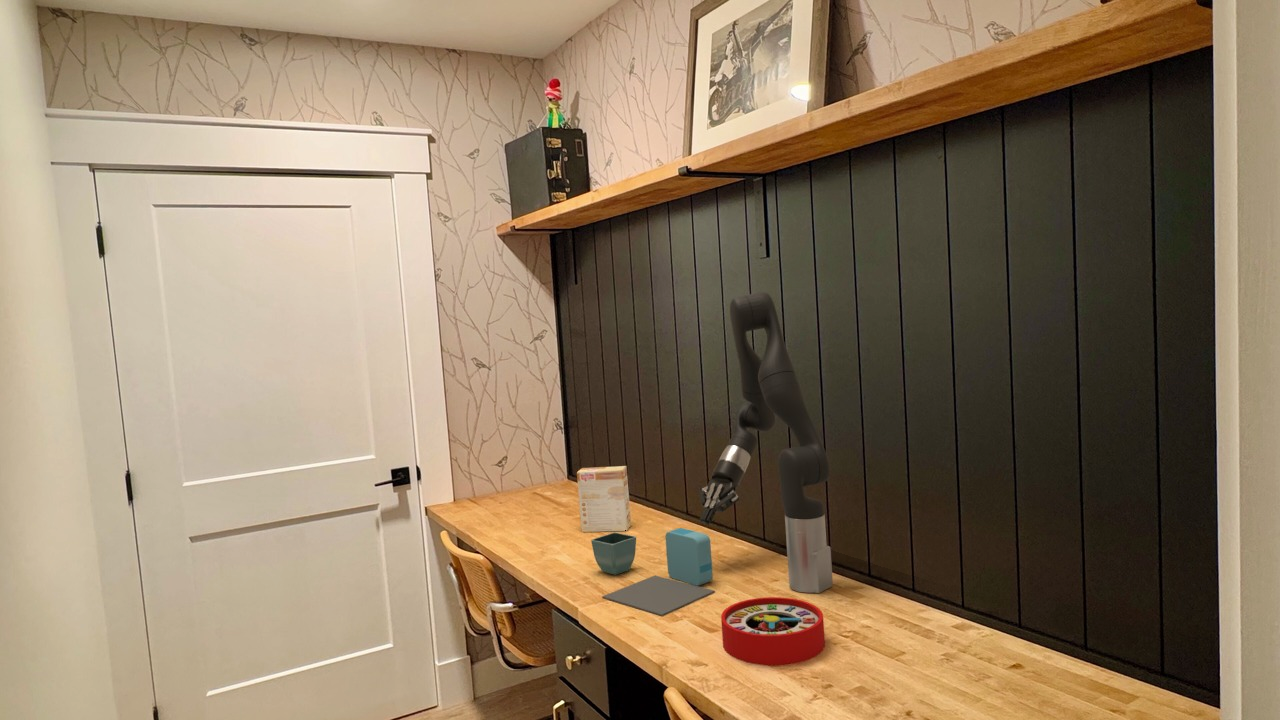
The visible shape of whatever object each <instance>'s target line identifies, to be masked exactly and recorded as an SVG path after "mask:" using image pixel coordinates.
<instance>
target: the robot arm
mask: <svg viewBox="0 0 1280 720" xmlns="http://www.w3.org/2000/svg"><path fill="white" fill-rule="evenodd" d="M729 317H730V322H731V328H732V333H733V338H734V339H733V341H734V345H735V349H736V354H737V355H736V356H737V359H738V364H739V369H740V370H739V371H740V372H739V373H740V384H741V395H742V398H743V399H744V400H745V401H746V402H745V401H744V402H743V403H742V404H741V405H740V406H739V407H738V408H737V410H736V416H735V417H736V418H735V424H734V427H733V432H732V435H731V438H730V439H729V442H728V443H727V444H726V447H725V448H724V450H723V451H722V453H721V455H720V457H719V459H718V461H717V463H716V465H715V467H714V469H713V471H712V473H711V476H712V477H711V480H709V482H708V483H707V485H706V486H705V487H702V486H699V487H698V489H697V490H698V491H697V492H698V498H699V502H700V505H701V506H702V507H703V511H702V513H701V515H700V516H699V517H700V518H699V519H700V520H699V521H700V522H701V523H702V524H703V525H710V524H711V522H712V521H713V519H714V517H715V516H716V514H718V512H720V513H723V512H725V511H726V510H727V509H729V508H730V507H731V506H733V505H735V504H736V503H737V502H738V501H739V500H740V496H738V494H737V493H736V491H737V488H738V487H739V485H740V483H741V481H742V480H743V477H744V475H745V473H746V471H747V469H748V466H749V464H750V461H751V458H752V455H753V454H754V452H755V450H756V447H757V445H758V437H757V436H755V435H754V433H752V432H751V431H749V430H747V429H750V430H751V429H752V430H755V431H759V432H765V433H766V432H770V431H771V430H772V429H773V428H774V427H775V424H776V420H775V415H776V416H777V418H779V419H780V420H781V421H782V422H783V423H784V424H785V425H786V426H787V427H788V428H789V429H790V430H791V431H792V433H793V434H794V437H795V438H796V441H797V443H798V444H799V446H795V447H789V448H784V449H782V450H781V451H780V453H779V456H778V461H777V466H778V467H777V469H778V470H777V471H778V476H779V484H780V485H779V486H780V495H781V501H782V506H783V510H784V521H785V523H784V525H785V535H786V536H785V537H786V540H785V541H786V554H787V570H788V584H789V588H790V589H791V590H793V591H795V592H799V593H811V594H812V593H813V594H814V593H816V594H820V593H822V592H824V591H826V590H828V589H830V588H832V587H833V586H834V583H833V582H834V581H833V568H832V552H831V551H832V550H831V549H832V548H831V546H829V545H827V533H826V530H827V529H826V516H825V515H826V513H825V504H824V502H823V501H822V500H820V499H817V498H813V497H808V496H806V495H805V492H804V487H807V486H813V485H819V484H823V483H825V482H827V481H828V480H829V477H830V472H831V471H830V470H831V469H830V462H829V459H828V454H827V452H826V449H825V447H824V445H823V443H822V440H821V438H820V436H819V435H818V432H817V429H816V428H815V426H814V423H813V421H812V418H811V415H810V413H809V410H808V407H807V405H806V401H805V399H804V396H803V393H802V392H803V391H802V389H801V385H800V383H799V379H798V377H797V374H796V372H795V369H794V366H793V363H792V360H791V357H790V355H789V352H788V350H787V346H786V343H785V340H784V336H783V332H782V329H781V324H780V321H779V317H778V313H777V309H776V306H775V302H774V300H773V298H772V296H771V295H770V294H769V293H768V292H766V291H765V292H763V291H762V292H756V293H749V294H745V295H739V296H735V297H734V298H732V299H731V300H730V304H729ZM762 329H764V330H765V334H766V345H765V351H764V354H763V356H762V359H761V357H760V356H759V355H758V354H757V352H756V351H755V350H754V349H753V347H752V346H751V345H750V342H749V340H748V336H747V332H751V331H757V330H762ZM774 413H775V415H774Z"/></svg>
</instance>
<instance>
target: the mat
mask: <svg viewBox="0 0 1280 720" xmlns="http://www.w3.org/2000/svg"><path fill="white" fill-rule="evenodd" d="M715 593H716V590H713V589H709V588H706V587H702V586H695V585H692V584H689V583H686V582H683V581H680V580H676V579H672V578H671V579H670V578H667V577H663V576H659V575H652V576H650V577H647V578H645V579H643V580H640V581H638V582H635V583H632V584H629V585H627V586H625V587H622V588H619V589H617V590H615V591H612V592H610V593H607V594H605V595H603V596H602V595H601V596H602V597H601V598H602V599H604V600H608V601H611V602H615V603H618V604H620V605H624V606H627V607H630V608H634V609H637V610H640V611H644V612H647V613H649V614H653V615H657V616H660V617H664V616H666V615H668V614H670V613H673V612H675V611H677V610H680V609H681V608H684V607H685V606H688V605H691V604H693V603H694V602H697V601H700V600H702V599H704V598H706V597H708V596H710V595H713V594H715Z"/></svg>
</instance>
